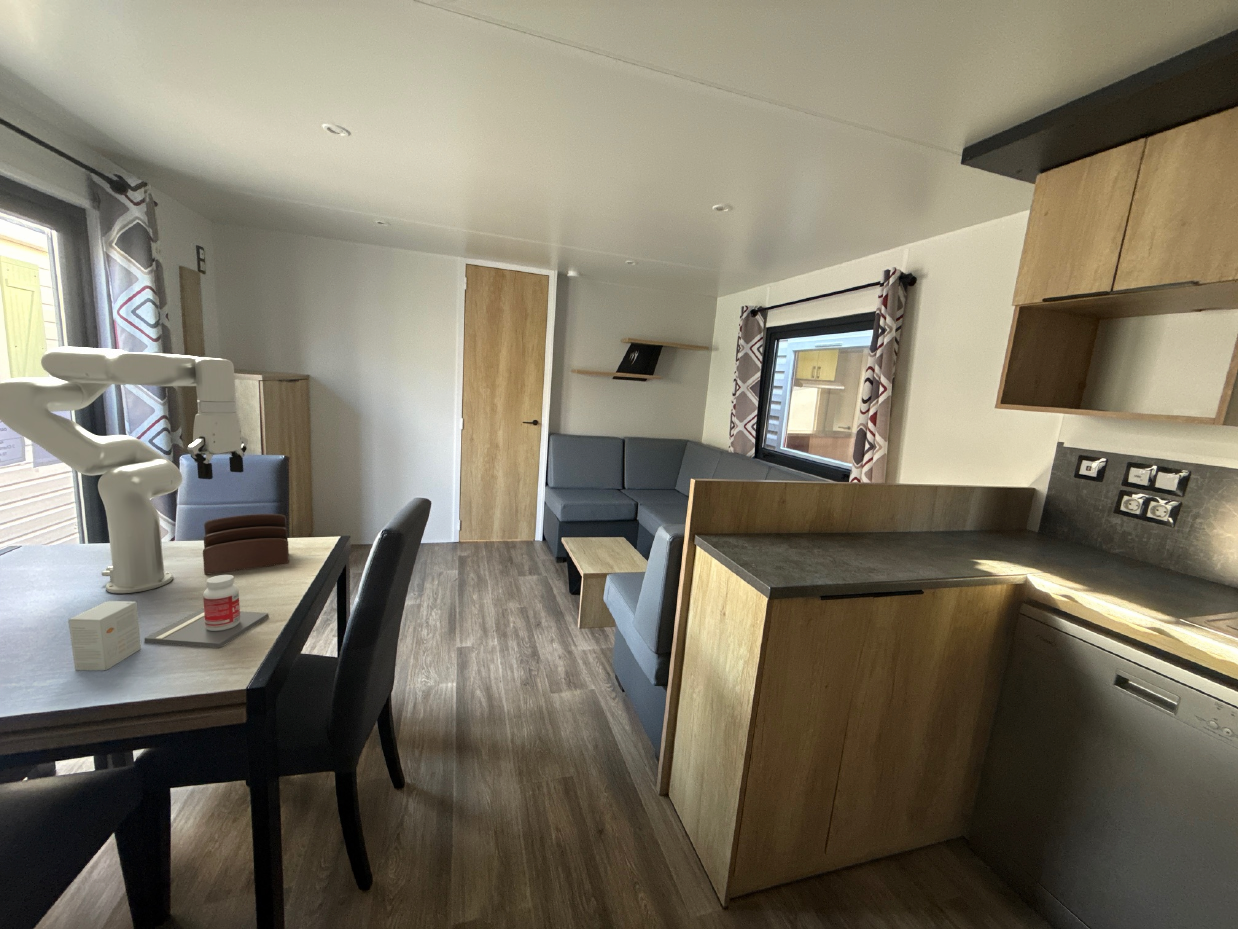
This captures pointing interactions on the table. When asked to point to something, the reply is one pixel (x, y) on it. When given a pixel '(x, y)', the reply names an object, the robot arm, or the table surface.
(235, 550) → the letter holder
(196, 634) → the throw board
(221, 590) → the pill bottle
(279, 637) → the table surface
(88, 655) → the small box
